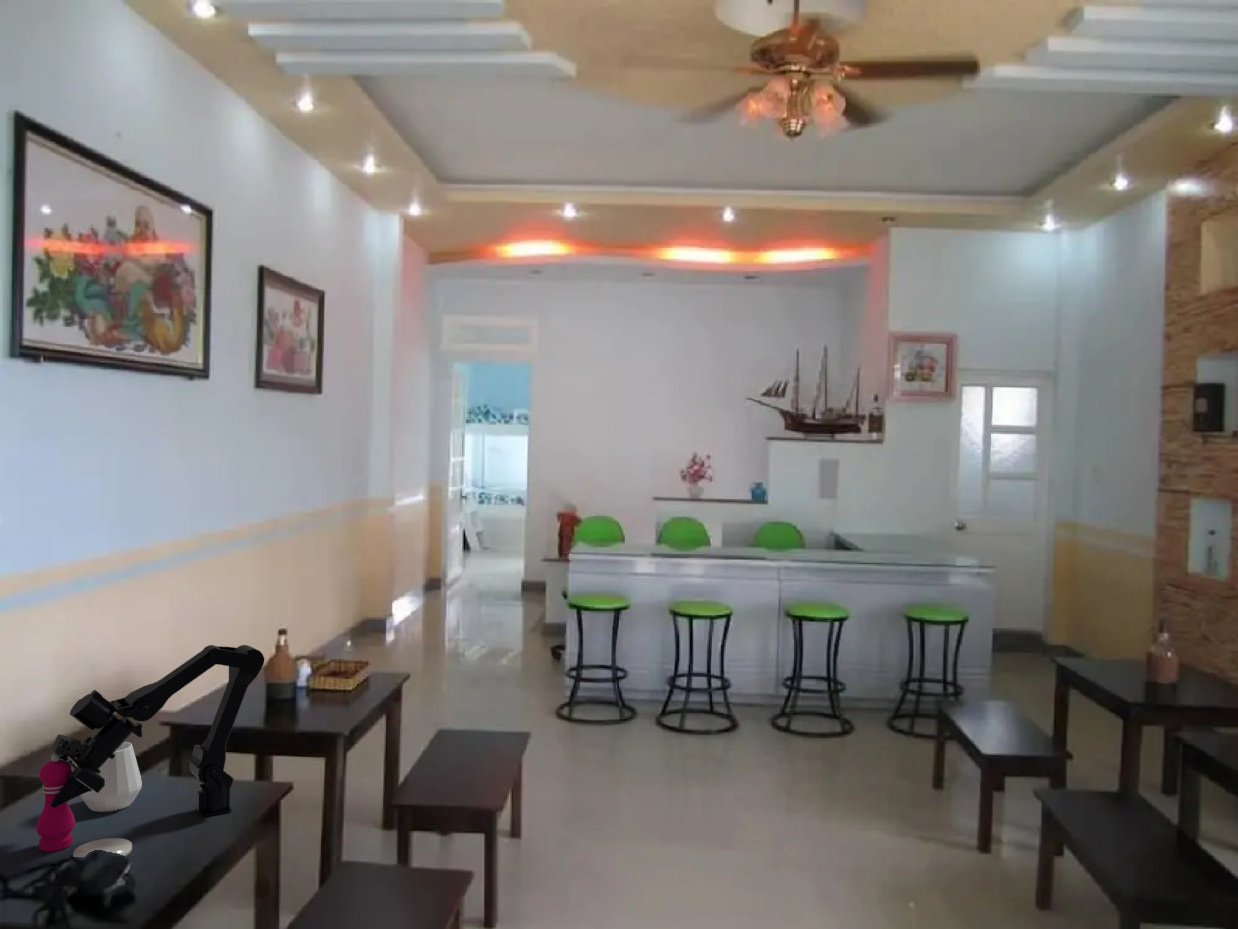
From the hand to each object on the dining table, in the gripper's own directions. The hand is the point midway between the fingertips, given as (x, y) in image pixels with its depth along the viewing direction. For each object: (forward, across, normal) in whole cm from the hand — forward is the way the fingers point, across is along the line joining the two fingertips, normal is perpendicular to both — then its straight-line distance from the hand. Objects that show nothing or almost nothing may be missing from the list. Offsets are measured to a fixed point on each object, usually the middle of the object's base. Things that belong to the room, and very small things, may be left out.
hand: (49, 802), depth 208 cm
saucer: (+1, +10, +13) cm, 16 cm away
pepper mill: (+6, 0, +8) cm, 10 cm away
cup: (-5, -18, +19) cm, 27 cm away
